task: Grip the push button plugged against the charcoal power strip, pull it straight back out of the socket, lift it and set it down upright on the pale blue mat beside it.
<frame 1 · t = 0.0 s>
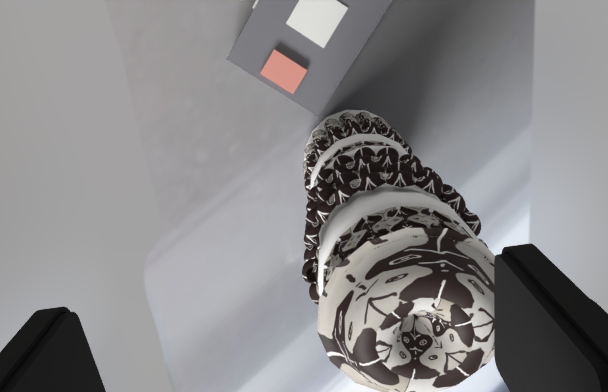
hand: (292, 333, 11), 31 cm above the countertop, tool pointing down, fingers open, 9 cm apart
power strip: (321, 3, 37), on the countertop
decorative candle: (352, 157, 42), on the countertop
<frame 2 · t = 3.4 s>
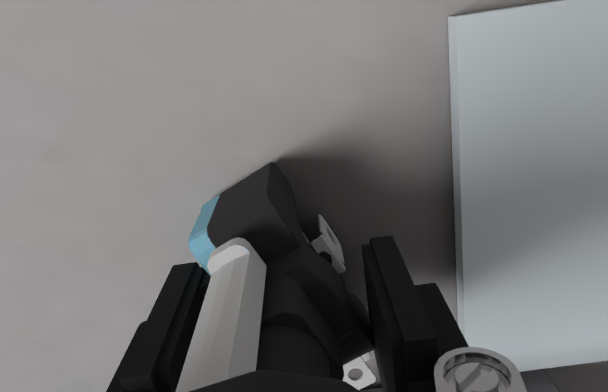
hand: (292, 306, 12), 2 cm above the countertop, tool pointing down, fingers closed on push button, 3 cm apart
push button: (295, 265, 14), on the countertop, touching gripper
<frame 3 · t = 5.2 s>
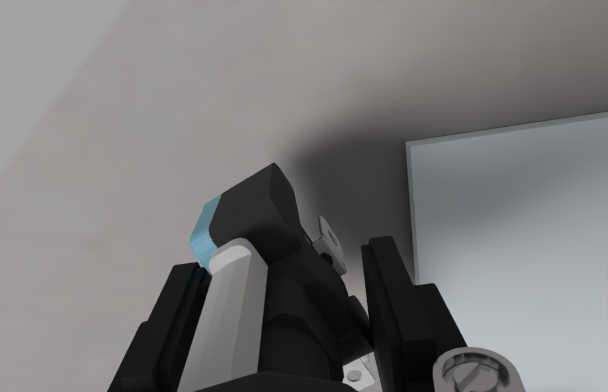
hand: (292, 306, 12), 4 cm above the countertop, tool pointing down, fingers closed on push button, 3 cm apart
pale blue mat: (565, 265, 16), on the countertop
push button: (295, 266, 14), point 2 cm above the countertop, touching gripper
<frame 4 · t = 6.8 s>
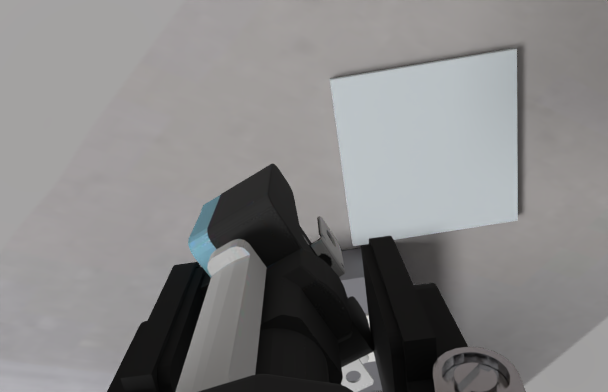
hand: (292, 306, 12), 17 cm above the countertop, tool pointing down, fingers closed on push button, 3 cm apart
power strip: (292, 314, 32), on the countertop
pale blue mat: (426, 151, 28), on the countertop
push button: (294, 266, 14), point 15 cm above the countertop, touching gripper
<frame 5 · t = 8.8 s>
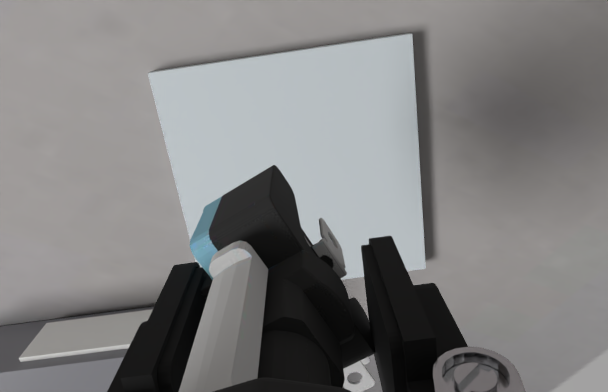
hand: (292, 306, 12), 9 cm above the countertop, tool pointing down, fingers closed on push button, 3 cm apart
power strip: (137, 378, 24), on the countertop
pale blue mat: (297, 174, 20), on the countertop
push button: (295, 268, 14), point 7 cm above the countertop, touching gripper
when the fingers open (4 cm above the countertop, at t = 10.5 s): push button drops 1 cm, point 1 cm above the countertop.
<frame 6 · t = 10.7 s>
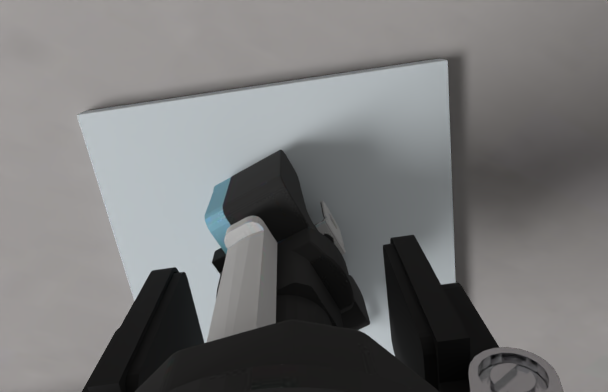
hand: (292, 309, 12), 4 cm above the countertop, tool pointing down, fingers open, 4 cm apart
pale blue mat: (288, 245, 15), on the countertop
push button: (295, 247, 15), point 1 cm above the countertop, touching gripper
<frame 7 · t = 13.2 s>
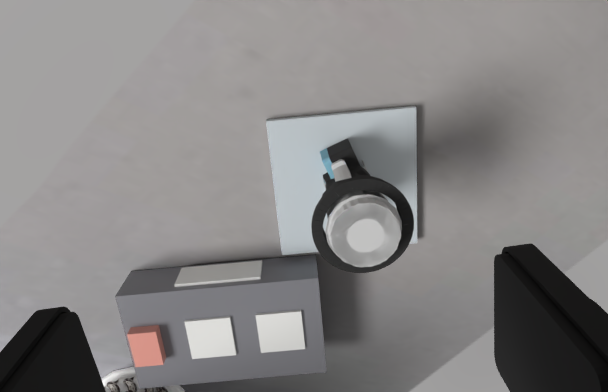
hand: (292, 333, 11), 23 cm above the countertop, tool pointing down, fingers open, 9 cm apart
power strip: (230, 307, 38), on the countertop
pale blue mat: (344, 182, 34), on the countertop
push button: (348, 181, 34), on the countertop, touching pale blue mat
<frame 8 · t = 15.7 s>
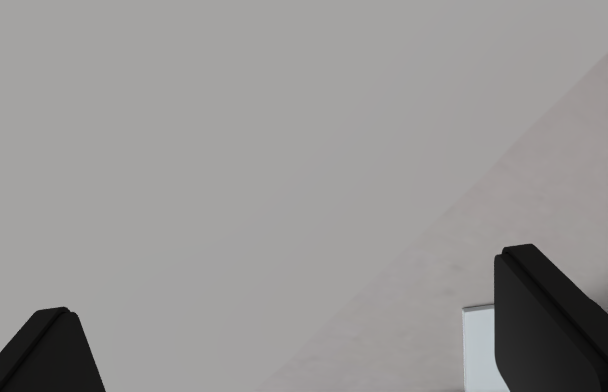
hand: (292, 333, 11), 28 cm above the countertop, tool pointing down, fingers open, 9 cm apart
pale blue mat: (516, 346, 46), on the countertop
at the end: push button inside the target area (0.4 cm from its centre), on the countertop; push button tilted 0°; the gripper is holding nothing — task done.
